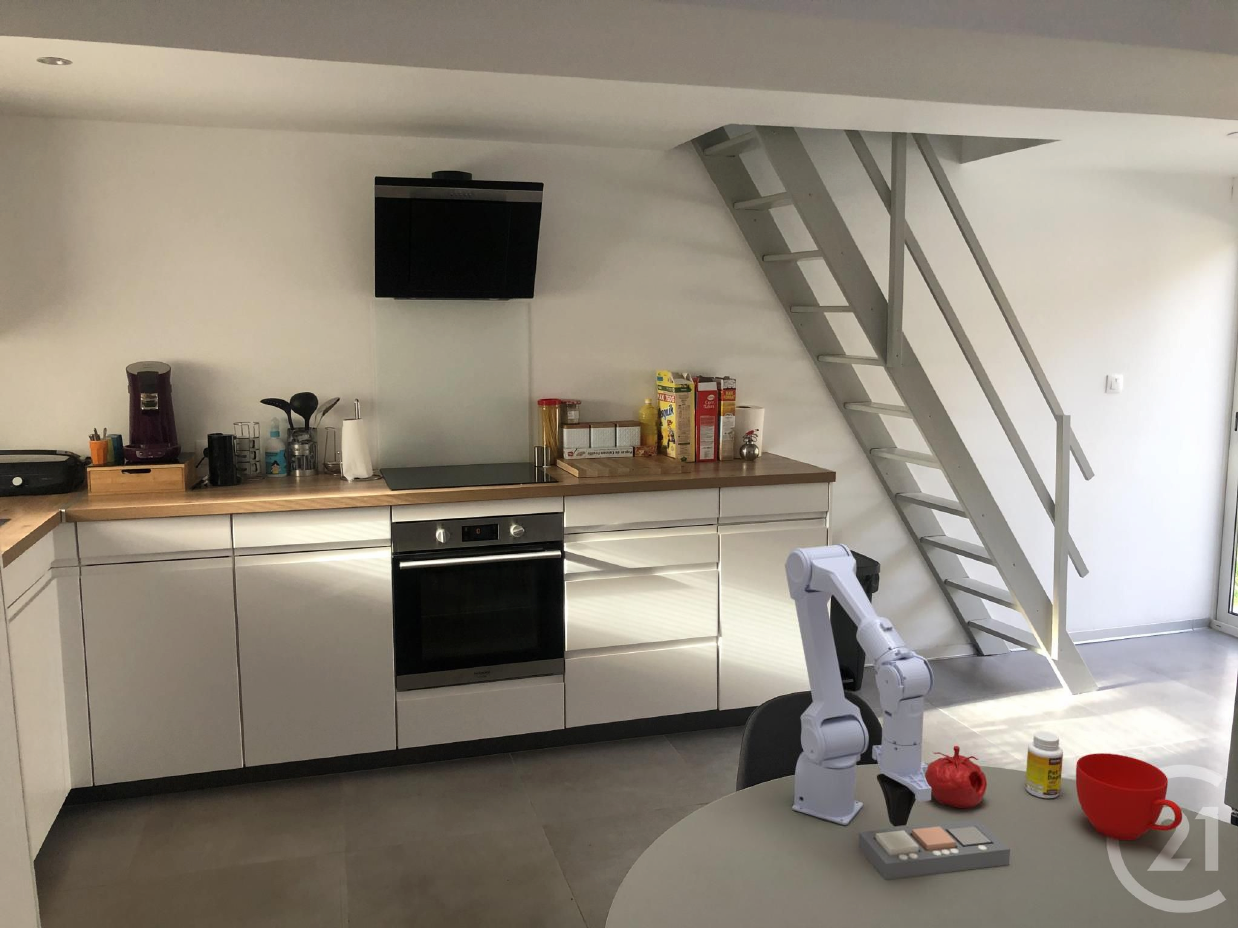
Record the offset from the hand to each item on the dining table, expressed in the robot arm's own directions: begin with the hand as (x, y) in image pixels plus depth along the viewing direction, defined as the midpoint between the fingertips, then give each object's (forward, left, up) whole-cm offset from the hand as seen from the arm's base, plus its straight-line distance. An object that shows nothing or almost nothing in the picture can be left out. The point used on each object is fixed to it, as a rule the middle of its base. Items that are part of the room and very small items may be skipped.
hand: (898, 823), depth 148 cm
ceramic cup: (+28, +27, -6) cm, 40 cm away
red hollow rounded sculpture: (+2, +24, -6) cm, 25 cm away
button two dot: (0, 0, -4) cm, 4 cm away
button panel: (+4, +4, -6) cm, 8 cm away
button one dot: (+8, +9, -5) cm, 13 cm away
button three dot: (+4, +4, -4) cm, 7 cm away
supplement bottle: (+14, +35, -6) cm, 39 cm away
